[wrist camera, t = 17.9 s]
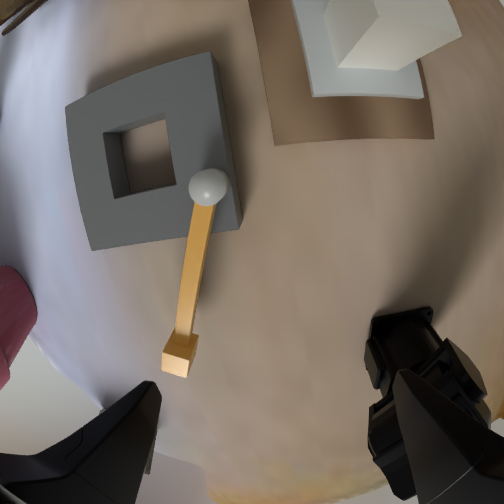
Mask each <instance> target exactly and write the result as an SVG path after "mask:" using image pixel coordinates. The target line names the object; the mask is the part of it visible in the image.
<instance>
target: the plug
mask: <svg viewBox="0 0 504 504" xmlns="http://www.w3.org/2000/svg"><path fill="white" fill-rule="evenodd" d="M291 4H292V8H293V12H294V16H295V19H296V23H297V27H298V32H299V36H300V40H301V44H302V49H303V53H304V58H305V63H306V68H307V73H308V78H309V83H310V88H311V94H312V97H327V96H380V97H398V98H410V99H421V98H424V94H423V89H422V84H421V79H420V75H419V70H418V66H417V62H416V60H417V59H419V58H421V57H423V56H425V55H426V54H428V53H430V52H432V51H434V50H436V49H438V48H440V47H442V46H444V45H446V44H448V43H450V42H452V41H454V40H456V39H458V38H460V37H462V34H461V31H460V28H459V26H458V23H457V21H456V18H455V16H454V13H453V11H452V9H451V6H450V4H449V2H448V0H291Z"/></svg>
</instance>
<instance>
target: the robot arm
mask: <svg viewBox="0 0 504 504" xmlns="http://www.w3.org/2000/svg"><path fill="white" fill-rule="evenodd" d="M432 316H433V309H432V308H431V307H424V308H420V309H415V310H410V311H406V312H401V313H395V314H390V315H385V316H379V317H375V318H373V319H372V320H371V326H370V335H369V339H368V340H367V341H366V347H365V355H364V361H365V364H366V365H365V366H366V370H367V371H368V373H369V376H370V379H371V382H372V385H373V388H374V389H376V390H377V389H380V391H381V394H382V397H383V398H382V399H381V400H380V401H378V402H377V403H376V404H375V403H374V404H373V405H372V406H370V407H369V425H368V449H369V450H370V453H371V454H372V456H373V461H374V462H375V463H376V464H377V466H378V467H379V468H380V469H381V470H382V472H383V473H384V475H385V476H386V478H387V480H388V482H389V485H390V487H391V489H392V492H393V493H394V495H395V496H397V497H398V498H400V499H401V500H404V501H405V500H407V499H409V498H411V497H413V496H415V495H417V497H418V502H419V504H504V437H502V436H500V435H499V434H497V433H495V432H493V431H492V430H491V412H490V410H489V408H488V406H487V405H486V403H485V402H484V400H483V398H484V397H485V396H486V395H487V391H486V388H485V385H484V382H483V379H482V377H481V374H480V372H479V370H478V369H477V368H476V366H475V365H474V364H473V362H472V361H471V360H470V358H469V357H468V356H467V355H466V354H465V353H464V352H463V351H462V350H461V349H460V348H458V347H457V346H456V345H455V344H454V343H453V342H452V341H450V340H449V339H448V338H446V339H445V340H444V341H442V339H441V338H440V337H439V335H438V334H437V332H436V331H435V330H434V328H433V327H432V326H431V320H432ZM376 322H378V323H377V324H375V323H376ZM161 402H162V396H161V393H160V391H159V389H158V387H157V385H156V383H155V382H153V381H143V382H142V383H141V384H139V385H138V386H137V387H135V388H134V389H133V390H131V391H130V392H129V393H128V394H126V395H125V396H124V397H122V398H121V399H120V400H118V401H117V402H116V403H114V404H113V405H112V406H110V407H109V408H108V409H106V410H105V411H104V412H102V413H101V414H99V415H98V416H97V417H95V418H94V419H93V420H92V421H90V422H88V423H87V424H86V425H84V426H83V427H81V428H80V429H79V430H77V431H76V432H74V433H73V434H72V435H70V436H68V437H67V438H65V439H64V440H62V441H60V442H58V443H57V444H55V445H53V446H51V447H49V448H47V449H45V450H44V451H42V452H40V453H38V454H35V455H15V454H5V453H0V504H135V501H136V498H137V494H138V490H139V487H140V483H141V480H142V476H143V473H144V469H145V466H146V463H147V459H148V456H149V453H150V449H151V446H152V443H153V439H154V436H155V433H156V428H157V423H158V418H159V412H160V407H161Z"/></svg>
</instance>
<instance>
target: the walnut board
mask: <svg viewBox="0 0 504 504" xmlns="http://www.w3.org/2000/svg"><path fill="white" fill-rule="evenodd" d="M248 2H249V7H250V11H251V16H252V21H253V25H254V30H255V35H256V40H257V45H258V50H259V56H260V61H261V66H262V72H263V77H264V83H265V89H266V94H267V100H268V106H269V112H270V119H271V125H272V131H273V138H274V144H275V146H276V145H285V144H294V143H304V142H315V141H329V140H346V139H377V138H403V139H434V130H433V122H432V115H431V109H430V103H429V97H428V92H427V87H426V82H425V78H424V73H423V69H422V65H421V61H420V58H419V59H417V60H416V62H417V66H418V70H419V75H420V79H421V84H422V89H423V94H424V98H421V99H410V98H398V97H380V96H327V97H312V94H311V88H310V83H309V78H308V73H307V68H306V63H305V58H304V53H303V49H302V44H301V40H300V36H299V32H298V27H297V23H296V19H295V16H294V12H293V8H292V4H291V0H248Z"/></svg>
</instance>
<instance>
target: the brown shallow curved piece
mask: <svg viewBox="0 0 504 504" xmlns="http://www.w3.org/2000/svg"><path fill="white" fill-rule="evenodd" d="M46 1H47V0H0V26H1V25H2V24H4V23H5V22H6V21H7V20H8V19H10V18H11V17H12V16H14V15H15V14H16V13H17V12H19V11H21V10H22V9H23V8H24V7H25V6H26V5H28V4H29V3H30V4H29V5H28V6H27V7H26V9H25V10H24V11H23V12H22V13H21V14H20V15H19V16H18V17H17V18H16V19H15V20H14V21H13V22H12V23H11V24H10V25H9V26H7V27H6V28H5V29H4V30H3V31H2V33H1V34H2V35H3V36H4V35H6V34H8V33H9V32H10V31H12V30H13V29H14V28H16V27H17V26H18V25H19V24H20V23H22V22H23V21H24V20H25V19H26V18H27V17H29V16H30V15H31V14H32V13H33V12H34V11H36V10H37V9H38V8H39V7H40V6H41V5H42V4H44V3H45V2H46Z"/></svg>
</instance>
